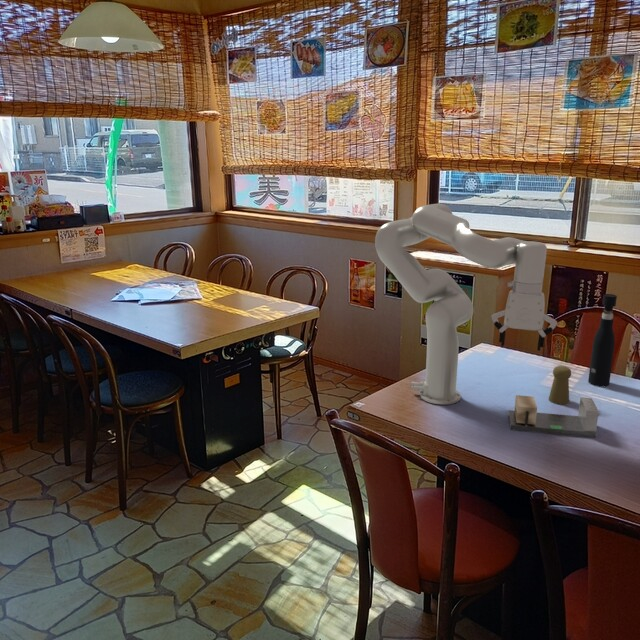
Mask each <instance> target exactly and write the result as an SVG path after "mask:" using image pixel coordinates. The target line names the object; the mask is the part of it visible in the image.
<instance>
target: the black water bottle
mask: <svg viewBox="0 0 640 640" xmlns="http://www.w3.org/2000/svg"><path fill="white" fill-rule="evenodd" d="M617 299H618V295H616V294H611V293H606V294H603V298H602V306H603V307H604V308H603V312H602V313H601V317H600V320H599V321H600V322H599V327H598V328H597V331H596V332H595V335H594V338H593V340H592V349H591V357H590V364H589V372H588V381H587V382H588V384H590V385H592V386H595V387H600V386H603V388H604V386H605V387H608V386H610V381H611V376H612V375H611V373H612V367H613V360H614V351H615V346H616V345H615V344H616V337H615V334H614V333H615V332H614V328H613V327H614V313H613V312H614V310H613V309H614V307H616V306H617V305H616V304H617Z"/></svg>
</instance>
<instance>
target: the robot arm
mask: <svg viewBox="0 0 640 640" xmlns="http://www.w3.org/2000/svg"><path fill="white" fill-rule="evenodd" d="M375 234H376V235H375V238H374V245H375V250H376V251H375V252H376V254H377V256H378V258H379V260H380V261H381V262H382V263H383V264H384V266H385V267H386V268H387V269H388V270H389V272H391V273H392V275H394V277H395V279H396V280H397V281H398V282H399V283H400V284H401V286H402V287H403V288H404V290H405V291H406V292H407V293H408V295H409V296H410V297H411V298H412V299H413V301H415V302H417V303H418V304H424V303H429V302H432V301H434V302H433V303H431V304H430V305H429V306H428V308H427V310H426V312H425V316H424V317H425V326H426V339H427V340H426V361H425V363H426V364H425V365H426V366H425V378H424V381H421V382H417V381H411V382H410V388H411V389H413V390H414V391H419V397H420V398H421V400H423V401H425V402H426V403H430V404H435V405H443V406H444V405H453V404H455V403H458V402H459V401H461V399H462V398H461V396H462V395H461V393H460V391H458V390H457V381H458V379H457V378H458V367H459V366H458V364H459V346H460V341H459V337H458V332H457V327H459V326H461V325H463V324H465V323H467V322H469V321H470V320H471V319H472V317H473V314H474V305H473V302H472V300H471V298H469V296H468V295H467V294H466V292H465V291H464V290H463V288H461V286H460V285H459V284H458V283H457V282H456V281H455V279H454V278H453V277H452V276H451V275H450V274H449V273H448V272H447V271H445V270H443V269H440V268H430V269H426V268H425V267H424V266H423V265H422V264H421V263H420V261H418V259H417V258H416V257H415V256H414V255H413V254H412V253H410V252H408V251H407V250H406V249H405V247H410V246H413V245H414V246H415V245H416V244H419V243H421V242H424V241H425V240H426V241H427V240H428V239H430V238H431V239H433V240H436V241H438V242H441V243H444V244H445V245H448V246H450V247H452V248H454V250H455V251H456V252H457V253H459V255H461V256H462V257H463V258H465V259H467V260H468V261H470V262H472V263H474V264H478V265H479V266H482V267H485V268H488V269H494V270H495V269H496V270H497V269H499V268H503V267H506V266H510V265H514V273H513V275H514V276H513V280H512V281H507V287H510V288H511V290H510V291H509V292H508V295H507V298H506V299H507V300H506V304H505V309H504V310H500V311H497V312H496V313H493V314H491V317H490V318H491V320H492V322H493V325H494V327H495V328H496V329H497V330H498V331H499V339H498V342H499V343H501V344H500V345H501V346H500V347H504V346H505V344H506V343H505V342H506V335H507V333H506V332H507V329H514V330H515V329H516V330H522V331H523V330H525V331H534V332H535V331H537V333H539V334H538V341H537V349H536V350H537V351H538V352H539V351H541V348H544V344H545V337H546V336H548V335H549V334H551V333H552V332H553V331H554V329H555V328H556V327H557V325H558V321H557V320H555V319H554V318H552V317H551V316H549V315H547V314H545V307H546V299H545V293H544V292H543V284H544V278H545V277H544V275H545V269H546V268H545V267H546V260H547V250H548V249H547V246H546V244H545V243H544V242H539V241H533V240H531V241H529V240H528V241H527V240H524V239H523V240H522V239H518V238H516V237H509V236H508V237H507V236H506V237H502V238H498V239H494V240H492V239H490V238H488V237H485V236H482V235H479V234H477V233H475V232H474V231H472V229H470V223H469V220H467V219H466V218H463V217H460V216H458V215H455V214H453V212H452V210H451V208H450V207H448V206H447V205H445V204H444V203H431V204H426V205H422V206H419V207H417V209H416V210H414V212H413V213H412V216H411V217H409V218H405V219H398V220H397V219H396V220H393V221H388V222H386V223H384V224H383V225H381V226H380V227H379V228H378V230H377V231H376V233H375ZM501 317H504V318H503V324H501V322H500V321H499V319H498V318H501ZM544 321H545V322H547V323H549V324H550V325H548V327H546V328H544Z"/></svg>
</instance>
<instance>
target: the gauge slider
mask: <svg viewBox="0 0 640 640" xmlns="http://www.w3.org/2000/svg"><path fill="white" fill-rule="evenodd" d="M514 402H515V403H514V410H513V411H514V412H515V417H516V422H517V423H523V424H525V425H528V424H534V425H536V415H537V413H538V406H537V403H536V400H535V396H532V395H531V396H529V395H517V394H516V395H515V401H514Z"/></svg>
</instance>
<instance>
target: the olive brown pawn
mask: <svg viewBox="0 0 640 640" xmlns="http://www.w3.org/2000/svg"><path fill="white" fill-rule="evenodd" d="M552 375H553V382H552V385H551V388H550V392H549V395H548V402H550V403H552V404H556V405H561V406H562V405H563V406H565V405H568V404H569V403H570V385H569V383H570V382H569V381H570V380H569V379H570V377H572V370H571V369H570V367H567V366H565V365H558V366H555V367H554V368H553V371H552Z"/></svg>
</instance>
